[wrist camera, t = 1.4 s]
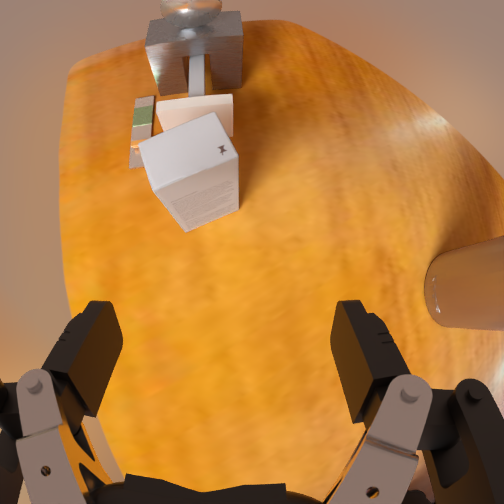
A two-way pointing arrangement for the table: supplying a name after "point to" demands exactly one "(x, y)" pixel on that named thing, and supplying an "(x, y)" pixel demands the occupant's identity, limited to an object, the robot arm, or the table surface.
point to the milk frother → (415, 498)
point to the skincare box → (194, 171)
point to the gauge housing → (180, 47)
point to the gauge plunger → (194, 103)
